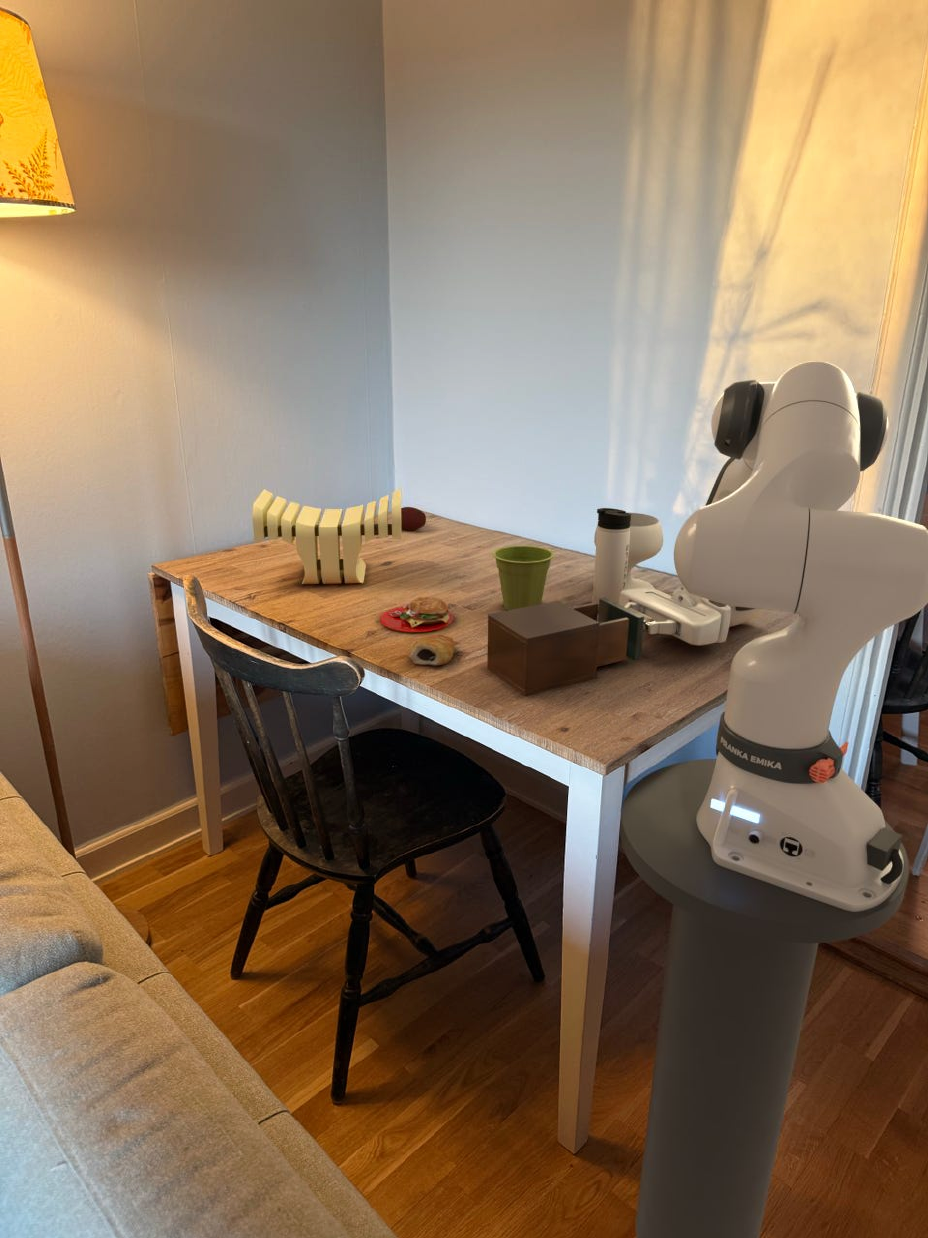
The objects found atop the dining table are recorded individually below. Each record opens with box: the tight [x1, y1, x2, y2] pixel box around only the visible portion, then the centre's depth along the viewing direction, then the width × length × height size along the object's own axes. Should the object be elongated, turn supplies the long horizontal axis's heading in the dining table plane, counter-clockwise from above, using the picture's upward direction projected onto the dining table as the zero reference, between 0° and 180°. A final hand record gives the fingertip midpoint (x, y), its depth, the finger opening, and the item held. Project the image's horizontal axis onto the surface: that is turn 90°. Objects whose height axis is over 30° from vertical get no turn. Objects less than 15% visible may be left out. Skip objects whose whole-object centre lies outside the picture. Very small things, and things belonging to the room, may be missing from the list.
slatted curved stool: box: [252, 487, 403, 585], centre depth 178 cm, size 30×16×18 cm, turn 94°
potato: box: [401, 506, 427, 531], centre depth 216 cm, size 8×9×6 cm
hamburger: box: [379, 596, 455, 633], centre depth 156 cm, size 14×14×6 cm
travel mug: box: [591, 507, 631, 612], centre depth 160 cm, size 6×7×20 cm
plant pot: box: [492, 545, 555, 611], centre depth 161 cm, size 12×12×11 cm
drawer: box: [569, 598, 654, 668], centre depth 139 cm, size 17×10×8 cm, turn 119°
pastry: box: [409, 633, 456, 667], centre depth 140 cm, size 9×7×4 cm
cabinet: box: [486, 600, 600, 697], centre depth 133 cm, size 14×12×10 cm
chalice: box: [593, 512, 664, 590], centre depth 171 cm, size 14×14×15 cm
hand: (632, 621), depth 141 cm, fingers closed on drawer, 6 cm apart
